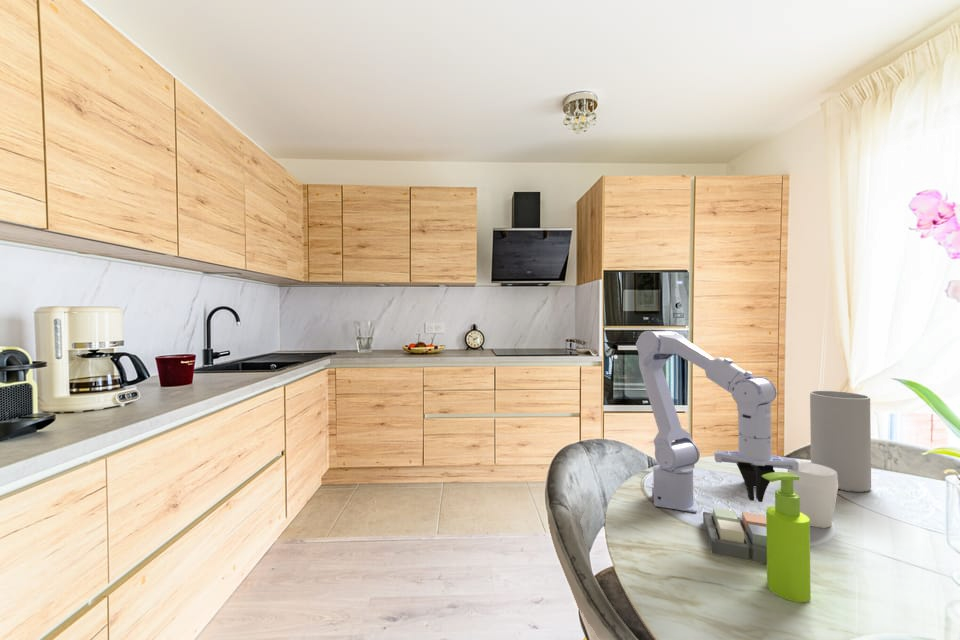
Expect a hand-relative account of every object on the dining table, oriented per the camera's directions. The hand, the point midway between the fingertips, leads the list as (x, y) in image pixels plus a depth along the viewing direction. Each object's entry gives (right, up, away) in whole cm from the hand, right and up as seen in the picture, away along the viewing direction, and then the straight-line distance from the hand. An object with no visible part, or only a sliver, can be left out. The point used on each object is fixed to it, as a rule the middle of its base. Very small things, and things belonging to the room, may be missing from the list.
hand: (755, 499), depth 84 cm
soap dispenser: (-6, -9, -16) cm, 19 cm away
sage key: (-5, -6, +2) cm, 8 cm away
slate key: (-2, -6, -5) cm, 8 cm away
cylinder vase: (+43, -8, +28) cm, 52 cm away
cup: (+18, -9, +8) cm, 22 cm away
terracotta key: (0, -6, 0) cm, 6 cm away
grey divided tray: (-4, -8, -1) cm, 9 cm away
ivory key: (-7, -7, -3) cm, 10 cm away
